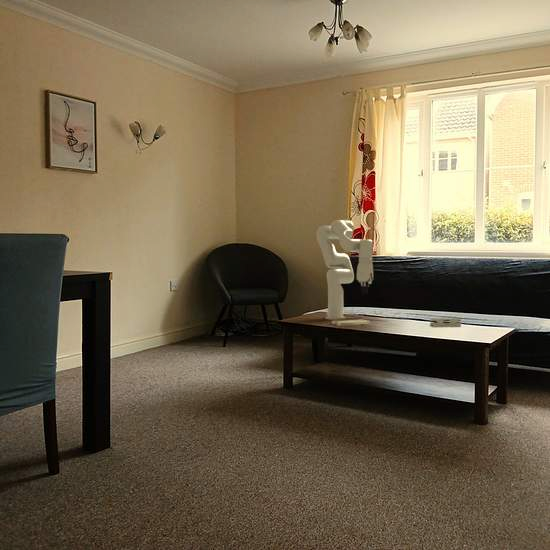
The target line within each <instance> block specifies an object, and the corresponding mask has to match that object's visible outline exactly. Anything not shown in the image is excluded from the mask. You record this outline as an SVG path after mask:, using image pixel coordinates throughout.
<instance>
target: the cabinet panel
mask: <svg viewBox="0 0 550 550" xmlns="http://www.w3.org/2000/svg"><path fill="white" fill-rule="evenodd" d="M331 322H332V325H334V326H337V327H339V326H340V327H347V326H348V327H349V326H350V325H351V326H361V324H364V325H371V324H372V323H371V320H366V319H362V316H356V317H355V316H353V317H352V316H351V317H346V318H333V319H332V320H331ZM351 326H350V327H351Z"/></svg>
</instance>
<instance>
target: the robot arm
mask: <svg viewBox="0 0 550 550" xmlns="http://www.w3.org/2000/svg"><path fill="white" fill-rule="evenodd" d="M354 229H355V225H354V223H353V222H352V221H351V220H349V219H335V220H333V221H331V223H330V225H322V226H319V227H318V228H317V230H316V240H317V242H318V245H319V248H320V249H321V253H322V257H323V260H324V263H325V266H326V267H327V268H328V270H327V272H326V281H327V312H326V313H325V314H326V315H327V316H325V319H326V320H331V321H332V319H333V318H347V317H346V316H344V288H343V286H342V284H351V283H353V282H354V280H355V273H354V269H353V266H352V262H351V259H350V257H349V255H348V254H346V253H344V252H343V253H342V252H337V251H336V250H337V249H336V247H335V244H333V242H331V240H338V241H339V245H340V247H341V248H342V249H343V250H344V251H345V252H347V253H358V263H357V268H356V280H357V281H358V283H360V287H361V294H369V287H370V285H371V284H372V283H373V281H374V265H373V250H374V249H373V240H372V239H363V238H362V239H361V238H352V237H353V235H354Z"/></svg>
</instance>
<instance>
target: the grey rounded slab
mask: <svg viewBox="0 0 550 550" xmlns="http://www.w3.org/2000/svg"><path fill="white" fill-rule="evenodd" d="M429 321H430V323H429V324H430V325H429V326H432V327H433V326H434V328H441V327H442V328H447V327H448V328H453V327H454V328H457V327H458V328H459V327H460V326H462V322H461V321H462V319H461V317H459V318H457V317H456V318H450V317H449V318H448V317H447V318H430V319H429ZM460 328H461V327H460Z"/></svg>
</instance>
